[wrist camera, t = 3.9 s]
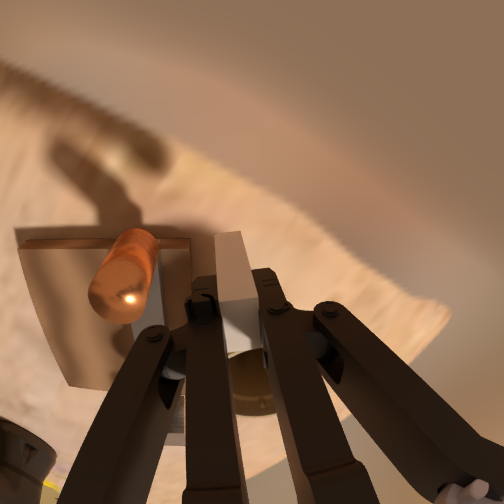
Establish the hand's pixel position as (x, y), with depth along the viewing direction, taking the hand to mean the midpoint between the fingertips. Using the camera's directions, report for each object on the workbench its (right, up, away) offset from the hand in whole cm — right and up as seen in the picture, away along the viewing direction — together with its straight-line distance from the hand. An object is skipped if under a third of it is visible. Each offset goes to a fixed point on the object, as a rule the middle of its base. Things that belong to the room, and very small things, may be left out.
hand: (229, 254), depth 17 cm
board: (-12, -7, +9) cm, 17 cm away
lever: (-7, -8, +8) cm, 13 cm away
